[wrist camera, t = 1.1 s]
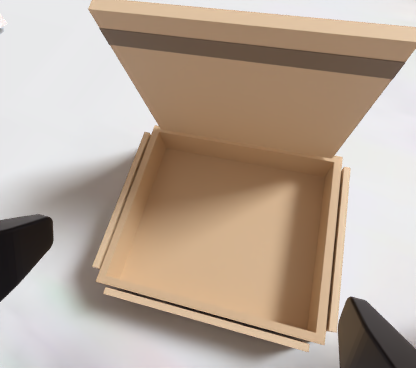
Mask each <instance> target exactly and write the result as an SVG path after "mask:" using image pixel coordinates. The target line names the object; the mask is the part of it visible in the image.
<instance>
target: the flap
mask: <svg viewBox="0 0 416 368" xmlns="http://www.w3.org/2000/svg"><path fill="white" fill-rule="evenodd" d="M88 10H89V11H90V13H91V14H92V16H93V18H94V19H95V21H96V23H97V24H98V26H99V29H100V30H101V32H102V34H103V35H104V37H105V38H106V40H107V42H108V43H109V45H110V46H111V47H112V49H113V51H114V52H115V54H116V56H117V57H118V59H119V61H120V62H121V64H122V66H123V67H124V69H125V71H126V72H127V74H128V76H129V77H130V79H131V81H132V82H133V84H134V85H135V87H136V89H137V90H138V92H139V94H140V95H141V97H142V99H143V100H144V102H145V104H146V105H147V107H148V109H149V110H150V112H151V114H152V115H153V117H154V118H155V120H156V122H157V123H158V125H159V127H160V128H161V129H162V130H167V131H173V132H179V133H185V134H191V135H197V136H202V137H208V138H214V139H220V140H226V141H232V142H237V143H243V144H249V145H255V146H261V147H267V148H272V149H278V150H284V151H290V152H296V153H302V154H307V155H313V156H319V157H325V158H331V159H332V158H333V156H334V155H335V154H336V152H337V151H338V150H339V149H340V147H341V146H342V145H343V143H344V142H345V141H346V139H347V138H348V137H349V135H350V134H351V133H352V131H353V130H354V129H355V128H356V126H357V125H358V124H359V122H360V121H361V120H362V118H363V117H364V116H365V114H366V113H367V112H368V110H369V109H370V108H371V107H372V105H373V104H374V103H375V101H376V100H377V99H378V97H379V96H380V95H381V93H382V92H383V91H384V89H385V88H386V87H387V85H388V84H389V83H390V82H391V80H392V79H393V78H394V77H395V76H396V74H397V73H398V72H399V70H400V69H401V68H402V66H403V65H404V64H405V62H406V61H407V59H408V58H409V57H410V55H411V54H412V53H413V51H414V50H415V49H416V27H408V26H397V25H386V24H376V23H365V22H354V21H343V20H332V19H322V18H311V17H300V16H289V15H278V14H268V13H257V12H246V11H235V10H224V9H213V8H203V7H192V6H181V5H170V4H159V3H149V2H138V1H127V0H92V1H91V3H90V6H89V8H88Z"/></svg>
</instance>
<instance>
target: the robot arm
mask: <svg viewBox="0 0 416 368" xmlns="http://www.w3.org/2000/svg"><path fill="white" fill-rule="evenodd" d="M52 244H53V221H52V219H51V218H50V217H48V216H44V215H40V214H36V215H30V216H23V217H17V218H11V219H4V220H0V302H1V301H2V300H3V299H4V298H5V297H6V296H7V295H8V294H9V293H10V292H11V291H12V290H13V289H14V288H15V287H16V286H17V285H18V284H19V283H20V282H21V281H22V280H23V279H24V277H25V276H26V275H27V274H28V273H29V272H30V271H31V269H32V268H33V267H34V266H35V265H36V264H37V263H38V261H39V260H40V259H41V258H42V257H43V256H44V255H45V253H46V252H47V251H48V250H49V249H50V248H51V246H52ZM338 341H339V361H340V368H416V349H415V348H414V347H413V346H412V345H411V344H410V343H409V342H408V341H407V340H406V339H405V338H404V337H403V336H402V335H401V334H400V333H399V332H398V331H397V330H396V329H395V328H394V327H393V326H392V325H391V324H390V323H389V322H388V321H386V320H385V319H384V318H383V317H382V316H381V315H380V314H379V313H378V312H377V311H376V310H375V309H374V308H373V307H372V306H371V305H370V304H369V303H368V302H367V301H365V300H362V299H359V298H355V297H349V298H348V299H347V301H346V303H345V306H344V308H343V311H342V314H341V317H340V319H339V323H338Z"/></svg>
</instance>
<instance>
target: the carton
mask: <svg viewBox="0 0 416 368" xmlns="http://www.w3.org/2000/svg"><path fill="white" fill-rule="evenodd" d="M341 168H342V157H339V156H333V158H332V159H331V158H325V157H319V156H313V155H307V154H302V153H296V152H290V151H284V150H278V149H272V148H267V147H261V146H255V145H249V144H243V143H237V142H232V141H226V140H220V139H214V138H208V137H202V136H197V135H191V134H185V133H179V132H173V131H167V130H162V129H161V128H160V127H159V126H156V125H155V126H154V129H153V132H152V134H151V135H150V133H148V132H144V135H143V138H142V140H141V143H140V145H139V148H138V150H137V153H136V155H135V158H134V161H133V163H132V166H131V168H130V171H129V173H128V176H127V178H126V181H125V184H124V186H123V189H122V191H121V194H120V196H119V199H118V201H117V204H116V207H115V209H114V212H113V214H112V217H111V219H110V222H109V224H108V227H107V230H106V232H105V235H104V237H103V240H102V242H101V245H100V247H99V250H98V253H97V255H96V258H95V260H94V263H93V265H92V267H95V268H98V269H100V271H99V274H98V277H97V279H96V282H99V283H103V284H106V285H110V286H113V287H117V288H121V289H124V290H128V291H131V292H135V293H139V294H142V295H146V296H149V297H153V298H156V299H160V300H164V301H167V302H171V303H174V304H178V305H182V306H185V307H189V308H192V309H196V310H199V311H203V312H207V313H210V314H214V315H217V316H221V317H225V318H228V319H232V320H235V321H239V322H243V323H246V324H250V325H253V326H257V327H260V328H264V329H268V330H271V331H275V332H278V333H282V334H286V335H289V336H293V337H296V338H300V339H303V340H307V341H311V342H314V343H318V344H321V345H324V344H325V334H326V331H330V332H336V333H337V323H338V311H339V299H340V287H341V275H342V263H343V251H344V239H345V227H346V215H347V203H348V191H349V179H350V168H348V167H344V168H343V169H342V171H341ZM103 294H106V295H110V296H113V297H117V298H120V299H124V300H127V301H131V302H134V303H138V304H141V305H145V306H148V307H152V308H155V309H159V310H162V311H166V312H169V313H173V314H176V315H180V316H183V317H187V318H190V319H194V320H197V321H201V322H204V323H208V324H211V325H215V326H218V327H222V328H225V329H229V330H232V331H236V332H239V333H243V334H246V335H250V336H253V337H257V338H260V339H264V340H267V341H271V342H274V343H278V344H281V345H285V346H288V347H292V348H295V349H299V350H302V351H306V352H309V345H310V344H307V343H305V342H302V341H299V340H296V339H292V338H289V337H285V336H281V335H278V334H274V333H271V332H267V331H264V330H260V329H256V328H253V327H249V326H246V325H242V324H239V323H235V322H231V321H228V320H224V319H221V318H217V317H214V316H210V315H206V314H203V313H199V312H196V311H192V310H189V309H185V308H181V307H178V306H174V305H171V304H167V303H164V302H160V301H156V300H153V299H149V298H146V297H142V296H139V295H135V294H131V293H128V292H124V291H121V290H116V289H112V288H108V287H105V290H104V293H103Z"/></svg>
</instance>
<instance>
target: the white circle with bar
mask: <svg viewBox="0 0 416 368" xmlns="http://www.w3.org/2000/svg"><path fill="white" fill-rule="evenodd" d="M6 24H8V23H7V22H6V21H5V20H4V18H3V17H2V16H1V14H0V28H1V27H3V26H4V25H6Z"/></svg>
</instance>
